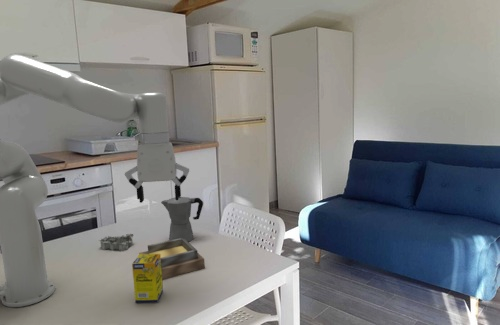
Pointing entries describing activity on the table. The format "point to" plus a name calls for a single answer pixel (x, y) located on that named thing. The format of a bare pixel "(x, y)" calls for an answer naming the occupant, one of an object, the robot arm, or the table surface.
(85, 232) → the table surface
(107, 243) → the egg carton
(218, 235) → the table surface
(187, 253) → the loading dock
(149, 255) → the supplement box
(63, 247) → the table surface
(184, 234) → the coffeepot
